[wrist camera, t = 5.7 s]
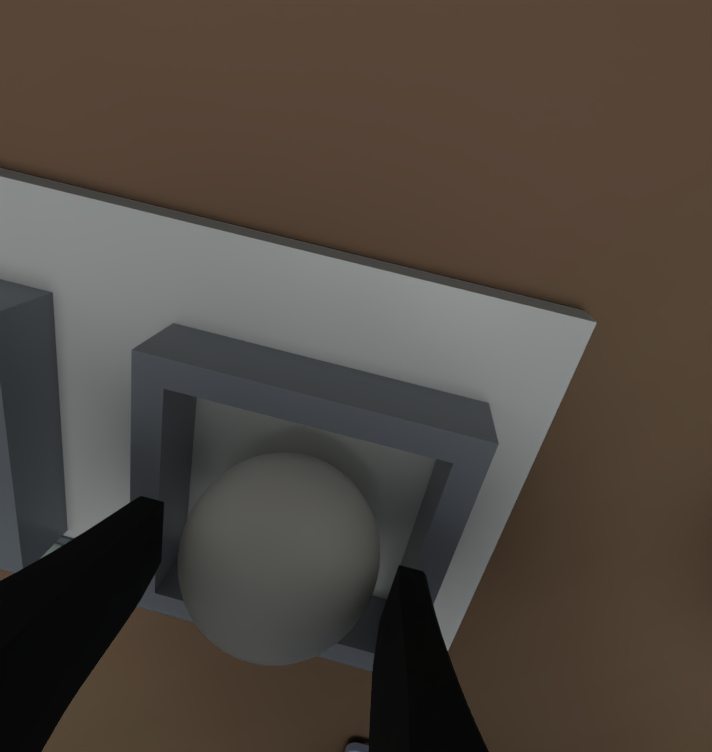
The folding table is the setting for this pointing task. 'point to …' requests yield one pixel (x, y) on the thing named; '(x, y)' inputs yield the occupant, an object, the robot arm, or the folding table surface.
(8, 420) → the ball sorting tray
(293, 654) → the ivory ball
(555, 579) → the folding table surface
